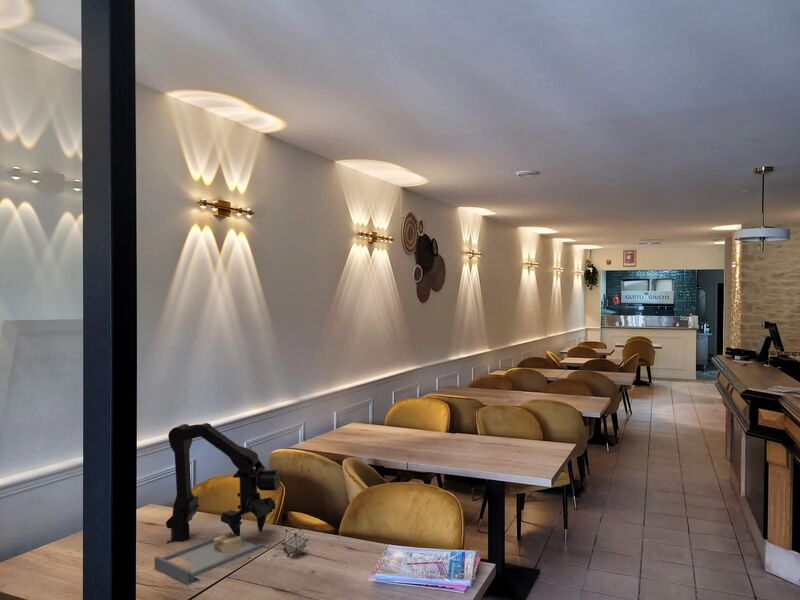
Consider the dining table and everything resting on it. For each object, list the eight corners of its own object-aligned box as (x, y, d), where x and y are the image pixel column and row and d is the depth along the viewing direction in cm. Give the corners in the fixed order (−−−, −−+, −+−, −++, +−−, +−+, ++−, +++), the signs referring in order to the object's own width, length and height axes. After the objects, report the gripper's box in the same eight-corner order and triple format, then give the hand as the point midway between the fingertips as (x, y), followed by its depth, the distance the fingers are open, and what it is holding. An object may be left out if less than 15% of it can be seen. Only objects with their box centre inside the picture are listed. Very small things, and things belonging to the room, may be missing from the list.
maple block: (214, 549, 191) (213, 538, 191) (229, 543, 196) (229, 532, 196) (225, 553, 188) (225, 542, 188) (240, 547, 192) (240, 536, 192)
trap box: (154, 568, 182) (154, 557, 182) (230, 539, 203) (229, 528, 203) (187, 584, 171) (187, 572, 171) (263, 551, 192) (263, 540, 192)
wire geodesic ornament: (298, 567, 188) (301, 550, 182) (274, 556, 190) (276, 538, 184) (311, 544, 195) (314, 527, 190) (288, 534, 197) (290, 516, 191)
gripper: (240, 502, 187) (241, 551, 187) (285, 486, 201) (286, 532, 201) (219, 495, 194) (220, 543, 193) (264, 481, 208) (265, 525, 208)
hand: (249, 536), depth 199 cm, fingers open, 9 cm apart
